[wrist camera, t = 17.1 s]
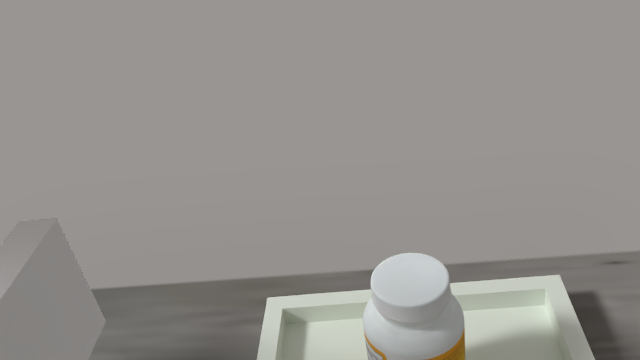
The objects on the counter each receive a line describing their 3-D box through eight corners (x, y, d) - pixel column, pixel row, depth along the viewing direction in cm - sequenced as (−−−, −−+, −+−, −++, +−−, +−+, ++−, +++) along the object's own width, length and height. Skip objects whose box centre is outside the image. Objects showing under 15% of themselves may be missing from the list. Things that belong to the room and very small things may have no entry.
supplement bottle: (359, 420, 35) (337, 299, 30) (396, 352, 39) (381, 235, 34) (449, 454, 32) (441, 328, 27) (479, 378, 36) (476, 255, 31)
